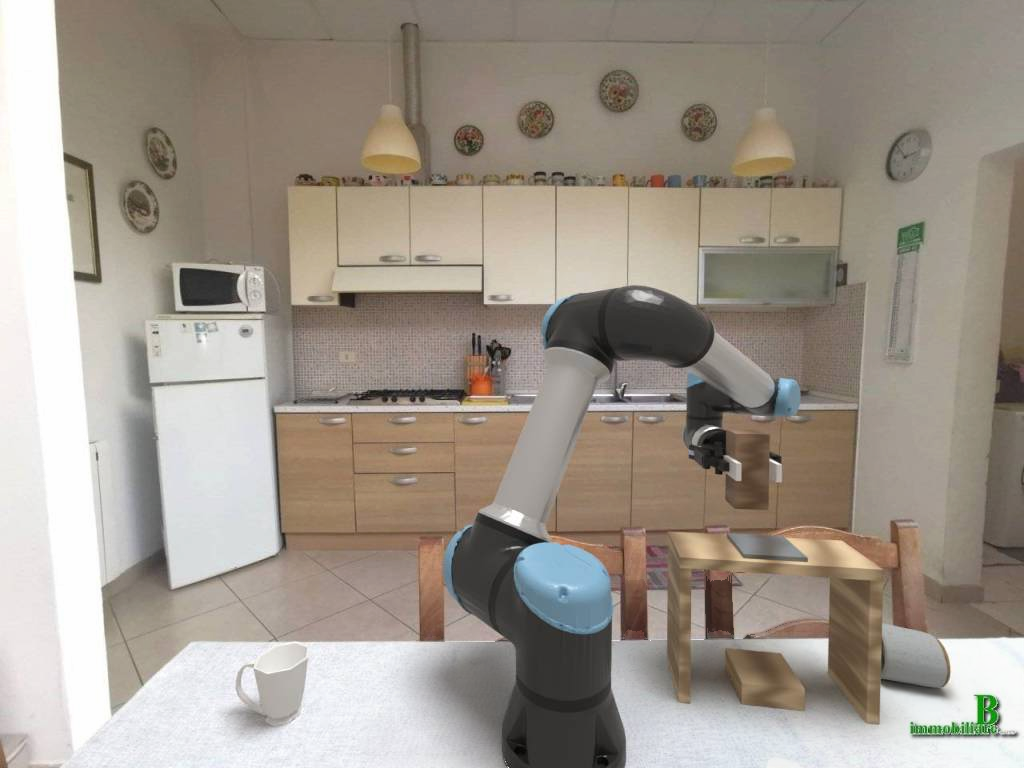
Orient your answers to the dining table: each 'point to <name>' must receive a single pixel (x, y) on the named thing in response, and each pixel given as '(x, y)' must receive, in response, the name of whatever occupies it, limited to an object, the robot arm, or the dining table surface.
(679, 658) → the wooden side table
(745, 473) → the walnut block
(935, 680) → the ceramic mug
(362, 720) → the dining table surface
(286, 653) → the cup
